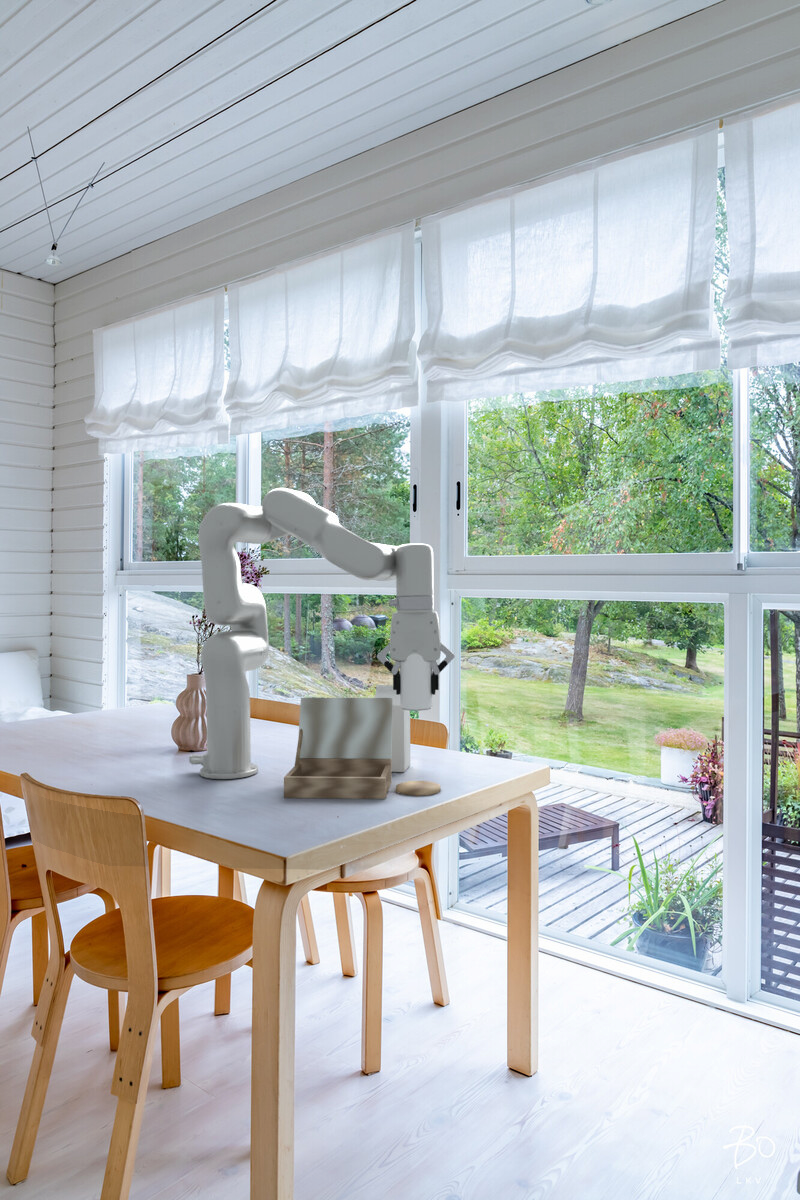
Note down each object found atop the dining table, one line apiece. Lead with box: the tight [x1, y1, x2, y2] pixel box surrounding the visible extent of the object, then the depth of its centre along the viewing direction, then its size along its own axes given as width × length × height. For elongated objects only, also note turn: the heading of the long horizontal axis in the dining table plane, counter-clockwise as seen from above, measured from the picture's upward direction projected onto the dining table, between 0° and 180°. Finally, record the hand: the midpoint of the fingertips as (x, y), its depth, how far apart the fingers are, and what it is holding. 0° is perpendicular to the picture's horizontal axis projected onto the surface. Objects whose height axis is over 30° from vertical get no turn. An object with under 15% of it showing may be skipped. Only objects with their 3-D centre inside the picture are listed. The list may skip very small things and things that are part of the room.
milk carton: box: [373, 684, 411, 773], centre depth 181 cm, size 7×7×19 cm
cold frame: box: [283, 697, 393, 800], centre depth 165 cm, size 20×18×17 cm
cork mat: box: [395, 780, 441, 797], centre depth 162 cm, size 9×9×1 cm
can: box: [399, 650, 433, 712], centre depth 161 cm, size 6×6×12 cm
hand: (416, 692), depth 161 cm, fingers closed on can, 6 cm apart
